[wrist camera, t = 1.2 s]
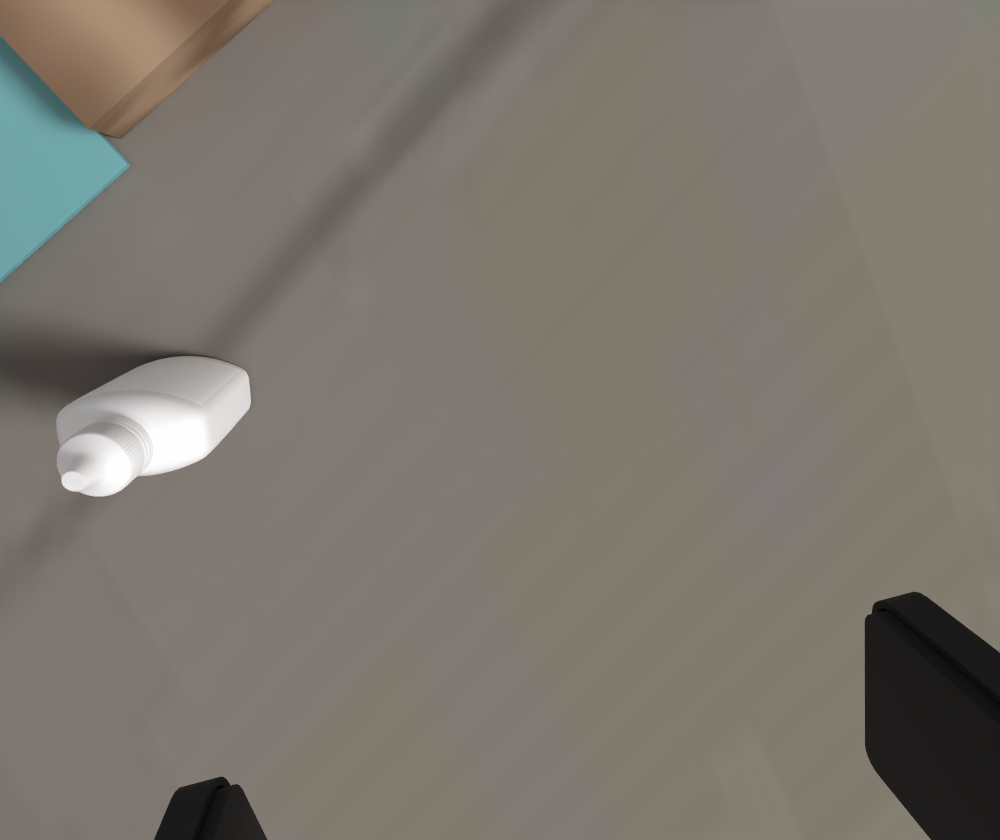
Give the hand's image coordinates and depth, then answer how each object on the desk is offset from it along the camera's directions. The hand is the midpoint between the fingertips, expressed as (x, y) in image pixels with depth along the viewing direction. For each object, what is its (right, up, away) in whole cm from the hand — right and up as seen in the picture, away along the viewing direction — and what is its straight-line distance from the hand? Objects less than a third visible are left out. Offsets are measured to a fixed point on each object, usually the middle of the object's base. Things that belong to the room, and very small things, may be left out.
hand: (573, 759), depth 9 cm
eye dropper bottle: (-17, +7, +22) cm, 29 cm away
